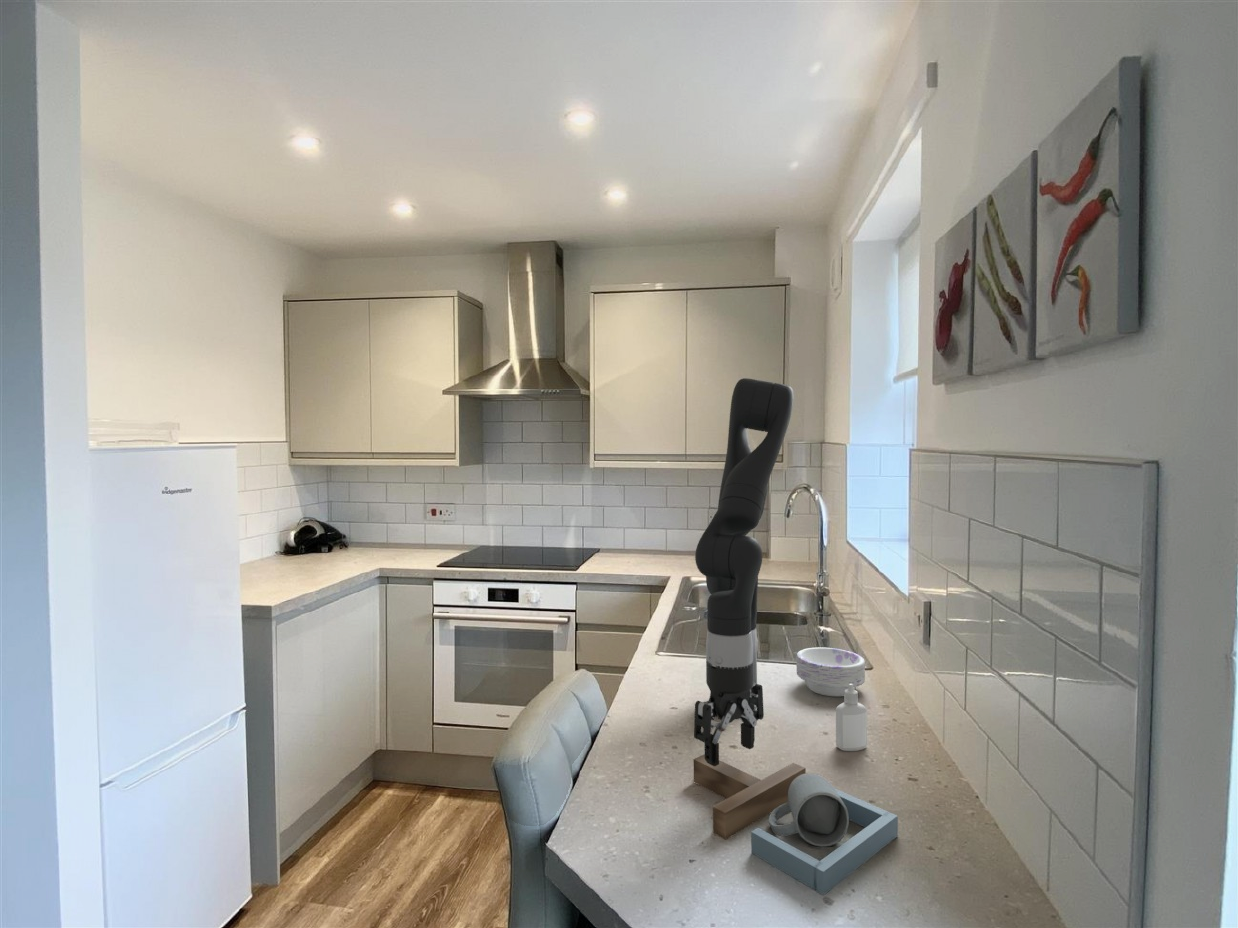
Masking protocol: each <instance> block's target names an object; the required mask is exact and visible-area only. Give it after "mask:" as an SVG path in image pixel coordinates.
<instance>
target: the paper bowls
mask: <svg viewBox="0 0 1238 928" xmlns="http://www.w3.org/2000/svg"><path fill="white" fill-rule="evenodd" d="M865 663H866V661H865V659H864V657H862V655H860V654H857V653H855V652H852V651H848V650H845V649H841V648H836V647H835V648H834V647H833V648H832V647H824V646H823V647H822V646H821V647H818V646H817V647H808V648H803V649H801V650H799V651H798V652H797V654H796V665H795V666H796V675H797V677H798V678H800V679H801V680H803V681H804V683H805V684H806V686H807V688H808V689H809V690H810V691H812V692H814V693H816V694H819V695H823V696H828V697H844V691H845V690H846V689H848V687H849V684H853V687H854V690H856V688H857V687H860V686H862V685H864V684H865V682H866V671H865V670H866V664H865Z"/></svg>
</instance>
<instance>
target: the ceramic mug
mask: <svg viewBox="0 0 1238 928" xmlns="http://www.w3.org/2000/svg"><path fill="white" fill-rule="evenodd" d="M834 788H835V787H834V786H833V785H832V783H831V782H829V780H828V779H826V778H825V777H824V776H822V775H819V774H818V773H815V772H806V773H805V774H801V775H799V776H798V777H796V778H795V779H794V780H793V781H792V783H791V784H790V787H789V790H788V802H787V803H785V804H783V805H780V806H779V807H777V808H776V809H774V810H773V811H772V812H771V813H770V814H769V817H768V824H769V826H770V828H771V830H772V833H774V834H775V835H776V836H780V837H786V836H790V835H794V834H797V833H798V834H799V836H800V838H802V839H803V840H804V841H805V842H807V843H808V844H810V845H813V846H815V847H821V848H822V847H823V848H825V847H830V846H833V845H836V844H837V843H839V842H840V841H841V840H842V839H843V838H844V837H845V835H846V833H847V831H848V829H849V825H850V820H849V814H848V810H847V808H846V806H845V804H844V803H843V801H842V800H841V798H840V797H839V795H838V794H837V792H836V791H835V789H836V788H835V789H834ZM789 813H790V814H791V815H792V819H793V821H792V822H789V823H785V824H777V823H778V821H779V819H781V818H782V817H784V816H785V815H787V814H789Z"/></svg>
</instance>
